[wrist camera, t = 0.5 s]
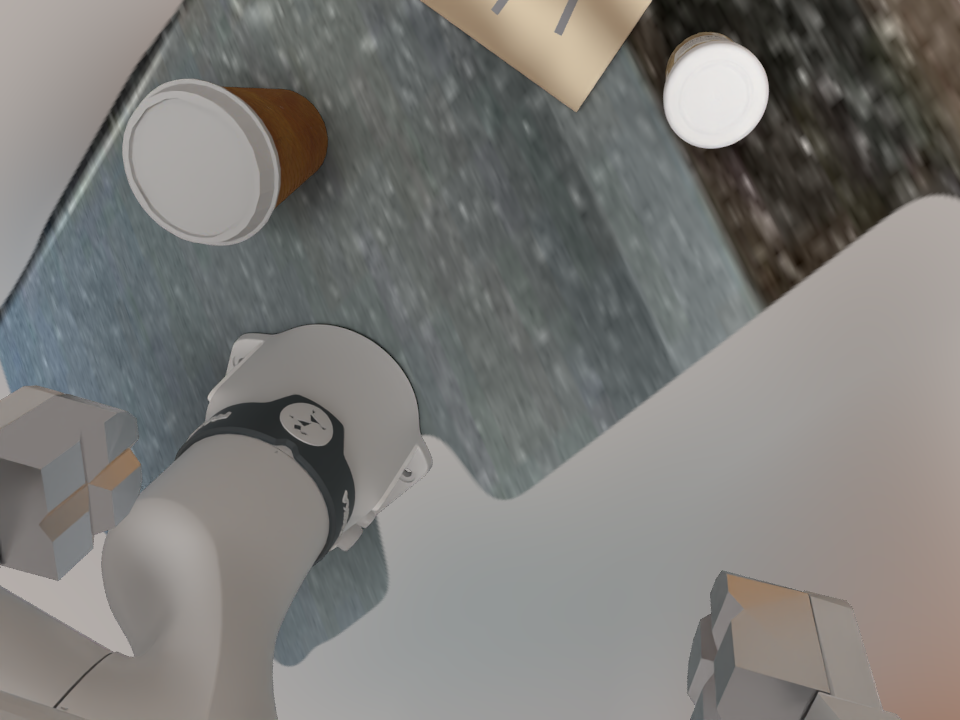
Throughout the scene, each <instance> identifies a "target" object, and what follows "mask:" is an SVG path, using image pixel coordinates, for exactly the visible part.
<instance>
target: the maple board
mask: <svg viewBox="0 0 960 720" xmlns="http://www.w3.org/2000/svg"><path fill="white" fill-rule="evenodd" d="M421 1H422V2H423V3H425V4H426V5H427V6H429V7H430V8H432V9H433V10H434V11H436V12H437V13H439V14H440V15H441V16H443V17H444V18H446V19H447V20H448V21H450V22H451V23H452V24H454V25H455V26H457V27H458V28H459V29H461V30H462V31H464V32H465V33H466V34H468V35H469V36H471V37H472V38H473V39H475V40H476V41H478V42H479V43H480V44H482V45H483V46H484V47H486V48H487V49H489V50H490V51H491V52H493V53H494V54H496V55H497V56H498V57H500V58H501V59H503V60H504V61H505V62H507V63H508V64H509V65H511V66H512V67H514V68H515V69H516V70H518V71H519V72H521V73H522V74H523V75H525V76H526V77H528V78H529V79H530V80H532V81H533V82H535V83H536V84H537V85H539V86H540V87H541V88H543V89H544V90H546V91H547V92H548V93H550V94H551V95H553V96H554V97H555V98H557V99H558V100H560V101H561V102H562V103H564V104H565V105H566V106H568V107H569V108H571V109H572V110H573V111H575V112H577V111H578V110H579V108H580V107H581V105H582V104H583V102H584V101H585V99H586V98H587V97H588V95H589V94H590V92H591V91H592V89H593V88H594V86H595V85H596V83H597V82H598V80H599V79H600V77H601V76H602V74H603V73H604V71H605V70H606V68H607V67H608V65H609V64H610V62H611V61H612V59H613V58H614V57H615V55H616V54H617V52H618V51H619V49H620V48H621V46H622V45H623V43H624V42H625V40H626V39H627V37H628V36H629V34H630V33H631V31H632V30H633V28H634V27H635V25H636V24H637V22H638V21H639V20H640V18H641V17H642V15H643V14H644V12H645V11H646V9H647V8H648V6H649V5H650V3H651V2H652V0H421Z"/></svg>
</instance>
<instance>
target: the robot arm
mask: <svg viewBox="0 0 960 720" xmlns="http://www.w3.org/2000/svg"><path fill="white" fill-rule="evenodd" d="M243 358H244V359H243ZM208 400H209V402H210V403H209V405H208V408H207V412H206V418H205V422H204V423H203V424H202V425H200V426H199V427H198V428H197V429H196V430H195V431H194V432H193V433H192V434H191V435H190V436H189V438H188V439H187V441H186V442H185V443H184V445H183V446H182V447H181V448H180V450H179V451H178V453H177V455H176V458H175V460H174V462H173V463H172V464H171V465H170V466H169V467H168V468H167V469H166V470H165V471H164V472H162V473H161V474H160V475H159V476H158V477H157V478H156V479H155V480H154V481H153V482H152V483H151V484H150V485H149V486H147V487H146V488H145V489H144V490H143V491H142V492H141V493H140V494H139V492H140V487H141V481H142V472H141V464H140V462H139V461H138V459H137V458H136V457H135V455H134V454H133V452H132V451H131V449H130V448H131V447H132V446H133V445H134V444H135V442H136V441H137V440H138V439H139V435H138V428H137V420H136V418H135V417H134V416H133V415H132V414H130V413H129V412H128V411H125V410H121V409H118V408H114V407H111V406H108V405H104V404H101V403H97V402H94V401H90V400H87V399H84V398H80V397H77V396H73V395H70V394H64V393H61V392H58V391H55V390H51V389H47V388H44V387H40V386H23V387H22V388H20V389H18V390H17V391H15V392H13V393H12V394H10V395H8V396H6V397H5V398H3V399H1V400H0V565H2V566H6V567H9V568H13V569H16V570H20V571H24V572H27V573H31V574H35V575H38V576H43V577H46V578H49V579H53V580H57V581H59V580H60V579H61V578H62V577H63V576H64V575H65V574H66V573H67V572H68V571H69V570H71V569H72V568H73V567H74V566H75V565H76V564H77V563H78V562H79V561H80V560H81V559H82V558H83V557H84V556H86V554H88V553H89V552H90V551H91V550H92V549H93V543H94V535H95V534H98V533H101V532H104V531H107V530H109V531H108V534H107V536H106V539H105V542H104V546H103V551H102V561H101V567H102V576H103V582H104V588H105V593H106V597H107V600H108V603H109V606H110V609H111V611H112V613H113V615H114V617H115V619H116V620H117V622H118V624H119V626H120V627H121V629H122V631H123V633H124V634H125V636H126V638H127V639H128V641H129V643H130V646H131V648H132V650H133V653H134V657H129V656H126V655H123V654H121V653H119V652H113V651H111V650H109V649H107V648H106V647H104V646H103V645H101V644H99V643H97V642H96V641H94V640H92V639H91V638H89V637H87V636H85V635H84V634H82V633H80V632H79V631H77V630H75V629H73V628H72V627H70V626H68V625H67V624H65V623H63V622H61V621H60V620H58V619H56V618H55V617H53V616H51V615H49V614H48V613H46V612H44V611H43V610H41V609H39V608H38V607H36V606H34V605H32V604H31V603H29V602H27V601H26V600H24V599H22V598H20V597H18V596H17V595H15V594H14V593H12V592H10V591H9V590H7V589H5V588H3V587H1V586H0V720H278V717H277V714H276V707H275V700H274V693H273V677H272V673H273V671H272V670H273V656H274V648H275V643H276V639H277V635H278V632H279V629H280V627H281V624H282V622H283V619H284V617H285V615H286V613H287V611H288V609H289V607H290V605H291V603H292V601H293V599H294V597H295V595H296V593H297V591H298V590H299V588H300V586H301V584H302V582H303V581H304V579H305V577H306V575H307V574H308V572H309V570H310V569H311V567H312V566H314V565H315V564H316V563H318V562H319V561H321V560H322V558H323V557H324V556H325V555H326V554H327V553H328V552H329V551H331V550H333V549H334V548H336V547H337V546H338V547H339V548H340V549H342V550H343V551H347V550H349V549H350V548H351V547H352V546H353V545H354V543H355V542H356V541H357V540H358V539H359V537H360V536H361V534H362V532H363V530H362V528H361V527H364V528H366V527H368V526H369V525H370V524H371V522H372V521H373V520H374V518H375V517H376V515H377V514H378V513H379V512H381V511H382V510H383V509H384V508H385V507H387V506H388V505H389V504H390V503H392V502H393V501H394V500H396V499H397V498H398V497H399V496H400V495H402V494H403V493H404V492H405V491H407V490H408V489H409V488H410V487H412V486H413V485H414V484H415V483H416V482H418V481H419V480H420V479H422V478H423V477H424V476H425V475H426V474H427V473H428V471H429V470H430V468H431V467H432V457H431V454H430V452H429V450H428V448H427V446H426V444H425V442H424V440H423V438H422V436H421V433H420V427H419V413H418V406H417V401H416V398H415V394H414V392H413V389H412V387H411V385H410V382H409V381H408V379H407V377H406V375H405V374H404V372H403V371H402V369H401V368H400V367H399V365H398V364H397V363H396V362H395V361H394V360H393V358H392V357H391V356H390V355H389V354H388V353H386V352H385V351H384V350H383V349H382V348H381V347H379V346H378V345H377V344H375V343H374V342H372V341H371V340H369V339H367V338H366V337H364V336H362V335H360V334H358V333H355V332H353V331H350V330H348V329H344V328H341V327H337V326H331V325H320V324H316V325H305V326H300V327H296V328H293V329H290V330H288V331H285V332H282V333H279V334H274V335H270V334H259V333H247V334H243V335H241V336H240V337H239V338H238V339H237V340H236V342H235V343H234V344H233V347H232V351H231V355H230V359H229V363H228V368H227V372H226V376H225V377H224V378H223V379H222V380H221V381H220V382H219V383H218V384H217V385H216V386H215V387H214V388H213V389H212V391H211V392H210V393H209V395H208ZM405 468H407V469H409V470H410V471H411V472H407V471H406V470H405ZM710 599H711V614H709V615H707V616H706V617H704V618H702V619H701V620H700V622H699V625H698V627H697V631H696V633H695V636H694V639H693V643H692V648H691V653H690V658H689V664H688V676H687V679H688V680H687V694H688V696H689V697H690V699H691V700H692V701H693V703H694V705H695V708H694V711H693V714H692V716H691V718H690V720H901V719H900V717H898V715H897V714H894V713H891V712H887V711H884V710H883V708H882V705H881V701H880V698H879V695H878V691H877V688H876V685H875V682H874V678H873V675H872V671H871V668H870V665H869V661H868V658H867V655H866V651H865V648H864V644H863V641H862V638H861V634H860V631H859V628H858V624H857V621H856V618H855V614H854V611H853V608H852V606H851V605H850V604H849V603H848V602H847V601H846V600H841V599H837V598H833V597H829V596H825V595H820V594H817V593H813V592H808V591H803V592H802V591H799V590H796V589H792V588H788V587H784V586H780V585H776V584H773V583H769V582H765V581H761V580H757V579H753V578H750V577H745V576H742V575H738V574H734V573H730V572H727V571H723V570H722V571H721V572H720V574H719V575H718V577H717V578H716V580H715V583H714V585H713V588H712V590H711V593H710Z"/></svg>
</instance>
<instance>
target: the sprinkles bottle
mask: <svg viewBox="0 0 960 720" xmlns="http://www.w3.org/2000/svg"><path fill="white" fill-rule="evenodd" d="M768 95H769V86H768V80H767V75H766V73H765V70H764V68H763V66H762V65H761V63H760V61H759V60H758V59H757V58H756V56H755V55H754V54H752V53H751V52H750V51H749V50H748V49H746V48H744V47H743V46H741V45H739V44H737V43H734V42H733V41H732V40H731V39H730V38H728V37H726V36H724V35H722V34H720V33H714V32H702V33H698V34H695V35H693V36H690V37H688V38H687V39H685V40H684V41H683V42H682V43H681V44H679V45H678V46H677V47H676V49H675V50H674V51H673V53H672V54H671V56H670V58H669V60H668V63H667V68H666V82H665V86H664V92H663V105H664V111H665V115H666V118H667V120H668V123H669V124H670V126H671V128H672V129H673V131H674V132H675V133H676V134H677V135H678V136H679V137H680V138H681V139H682V140H684V141H686V142H687V143H689V144H691V145H693V146H697V147H700V148H709V149H712V148H721V147H725V146H729V145H731V144H734V143H736V142H737V141H739V140H741V139H742V138H744V137H745V136H747V135H748V134H749V133H750V132H751V131H752V130H753V129H754V128H755V126H756V125H757V124H758V122H759V121H760V119H761V118H762V116H763V114H764V111H765V109H766V105H767V102H768Z"/></svg>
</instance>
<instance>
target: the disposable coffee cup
mask: <svg viewBox="0 0 960 720" xmlns="http://www.w3.org/2000/svg"><path fill="white" fill-rule="evenodd" d="M327 146H328V139H327V132H326V128H325V124H324V122H323V120H322V118H321V116H320V114H319V112H318V111H317V109H316V108H315V107H314V105H313V104H311V103H310V102H309V101H308V100H307V99H306V98H304V97H303V96H301V95H299V94H298V93H296V92H293V91H290V90H285V89H263V88H240V87H221V86H218V85H216V84H213V83H211V82H207V81H203V80H198V79H180V80H174V81H170V82H168V83H165V84H162V85H160V86H159V87H157V88H156V89H154V90H153V91H151V92H150V93H149V94H148V95H147V96H146V97H145V98H144V99H143V101H142V102H141V103H140V104H139V106H138V108H136V110H135V111H134V113H133V114H132V116H131V117H130V119H129V121H128V124H127V127H126V130H125V133H124V139H123V161H124V167H125V172H126V175H127V178H128V181H129V184H130V187H131V189H132V191H133V193H134V195H135V197H136V198H137V200H138V201H139V203H140V205H141V206H142V207H143V209H144V210H145V211H146V212H147V213H148V215H149V216H150V217H151V218H152V219H153V220H154V221H156V222H157V223H158V224H159V225H160V226H161V227H163V228H164V229H166V230H167V231H169V232H170V233H172V234H174V235H176V236H178V237H179V238H181V239H184V240H188V241H191V242H195V243H202V244H208V245H231V244H236V243H239V242H242V241H244V240H246V239H249V238H250V237H251V236H253V235H254V234H256V233H257V232H258V231H259V230H260V229H261V228H262V227H263V226H264V225H265V224H266V223H267V222H268V220H269V218H270V216H271V214H272V212H273V210H274V209H275V208H276V207H277V206H278V205H279V204H280V203H281V202H282V201H284V200H285V199H286V198H287V197H288V196H289V195H290V194H291V193H293V192H294V191H295V190H296V189H297V188H298V187H299V186H300V185H301V184H302V183H304V182H305V181H306V180H307V179H308V178H309V177H310V176H312V175H313V174H314V173H315V172H316V171H317V170H318V169H319V168H320V166H321V165H322V163H323V161H324V158H325V156H326V152H327Z"/></svg>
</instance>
